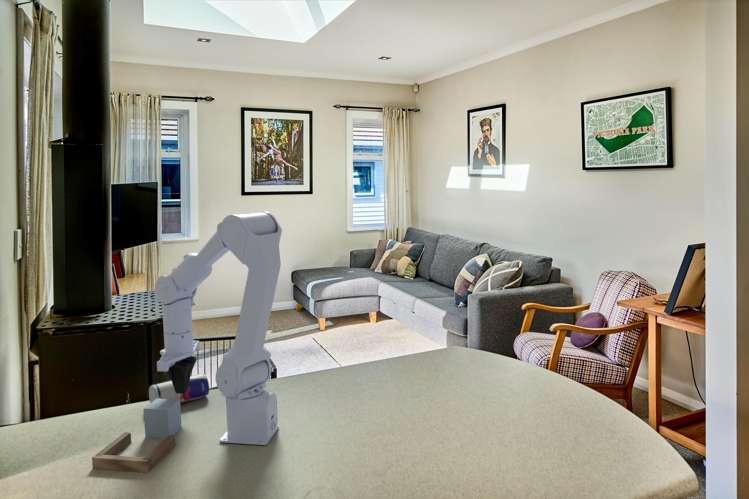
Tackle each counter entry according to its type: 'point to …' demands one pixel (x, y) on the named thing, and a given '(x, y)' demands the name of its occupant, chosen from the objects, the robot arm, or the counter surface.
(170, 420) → the pale blue-grey cube
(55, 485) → the counter surface
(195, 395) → the energy drink
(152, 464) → the bay
